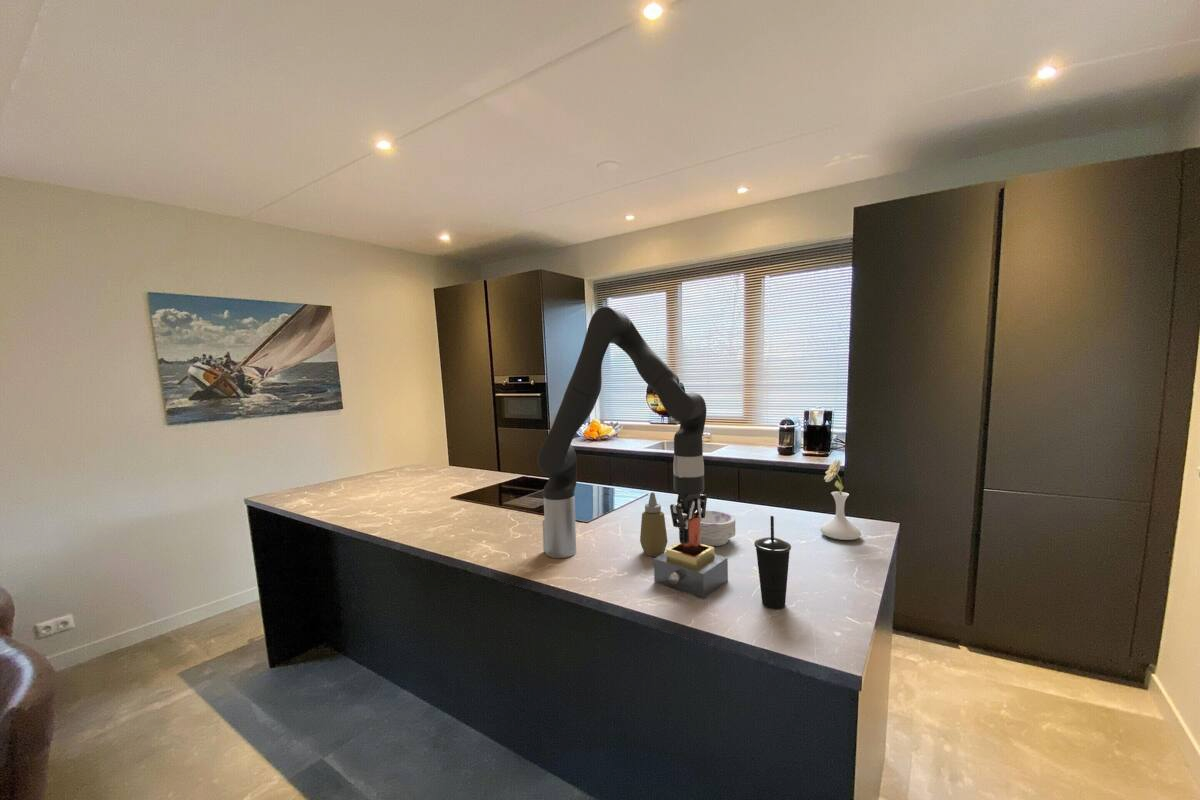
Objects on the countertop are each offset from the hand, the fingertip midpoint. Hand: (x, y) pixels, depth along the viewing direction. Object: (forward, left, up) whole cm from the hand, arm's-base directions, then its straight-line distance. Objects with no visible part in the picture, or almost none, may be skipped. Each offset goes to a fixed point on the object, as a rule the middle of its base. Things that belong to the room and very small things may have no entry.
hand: (690, 539), depth 111 cm
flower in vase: (+20, +55, -11) cm, 60 cm away
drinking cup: (+20, +2, -11) cm, 23 cm away
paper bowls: (-10, +28, -11) cm, 32 cm away
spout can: (0, 0, -4) cm, 4 cm away
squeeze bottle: (-18, +9, -11) cm, 23 cm away
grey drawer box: (0, 0, -11) cm, 11 cm away
